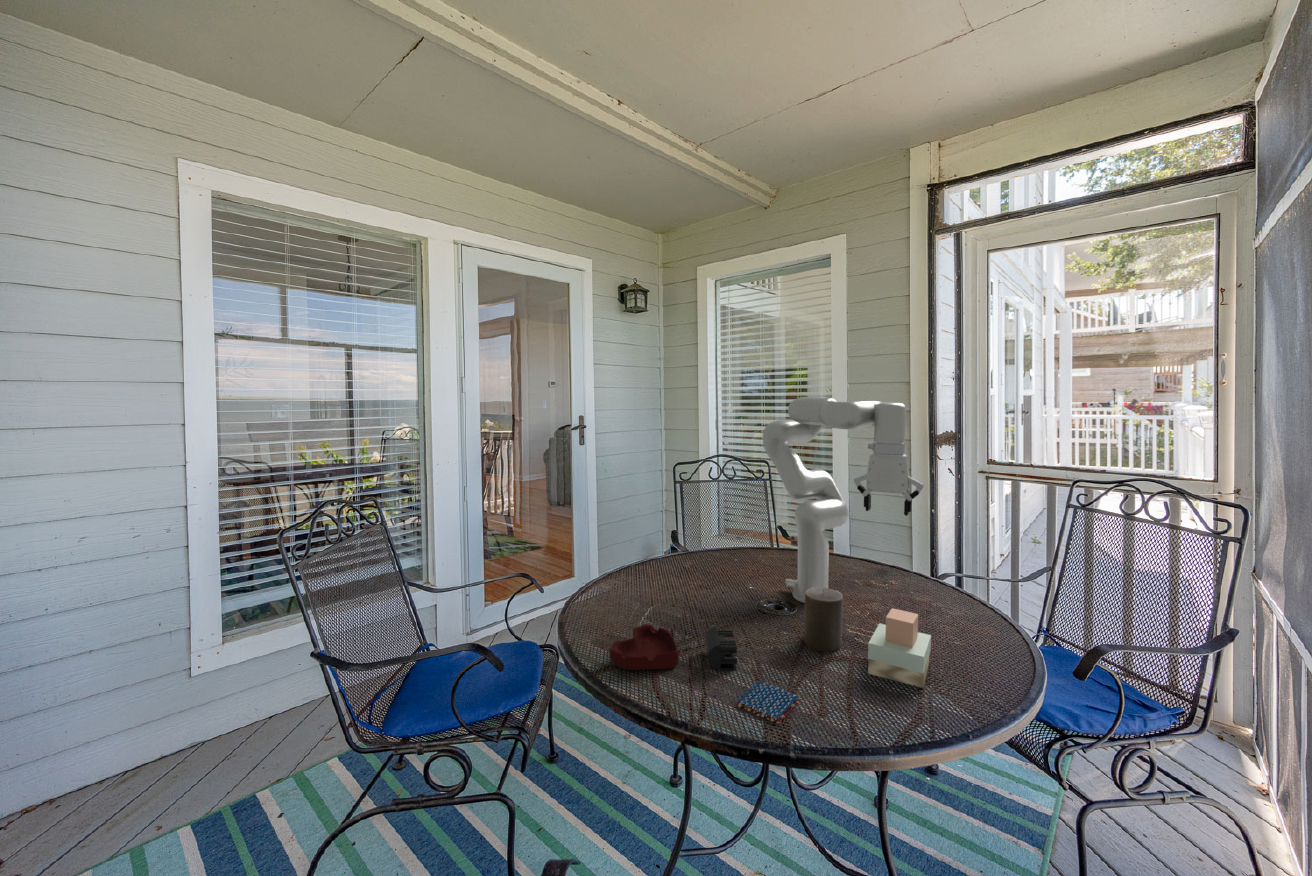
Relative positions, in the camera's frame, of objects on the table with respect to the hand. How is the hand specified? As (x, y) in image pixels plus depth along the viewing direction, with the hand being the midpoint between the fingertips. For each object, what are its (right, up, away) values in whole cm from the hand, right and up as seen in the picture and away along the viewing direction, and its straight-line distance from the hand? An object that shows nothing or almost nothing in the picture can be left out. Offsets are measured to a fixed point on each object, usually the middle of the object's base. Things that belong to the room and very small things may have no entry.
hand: (886, 512), depth 144 cm
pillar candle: (-17, -35, 0) cm, 39 cm away
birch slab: (-3, -37, -13) cm, 39 cm away
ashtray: (-64, -37, -7) cm, 74 cm away
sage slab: (-3, -33, -14) cm, 36 cm away
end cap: (-46, -37, -8) cm, 59 cm away
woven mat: (-37, -39, -26) cm, 60 cm away
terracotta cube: (-3, -29, -15) cm, 32 cm away
